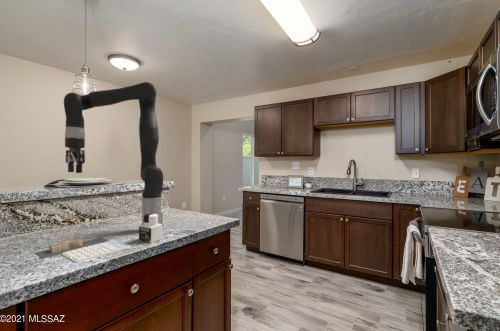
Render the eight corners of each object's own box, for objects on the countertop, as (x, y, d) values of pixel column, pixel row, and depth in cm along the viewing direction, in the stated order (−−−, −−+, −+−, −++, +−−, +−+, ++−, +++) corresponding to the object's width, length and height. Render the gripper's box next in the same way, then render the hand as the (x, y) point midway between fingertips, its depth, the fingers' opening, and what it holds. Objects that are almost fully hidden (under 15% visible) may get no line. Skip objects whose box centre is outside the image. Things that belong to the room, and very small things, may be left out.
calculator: (60, 257, 93) (60, 252, 93) (114, 243, 109) (114, 238, 109) (75, 265, 85) (75, 260, 85) (131, 249, 102) (131, 244, 102)
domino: (82, 241, 102) (52, 247, 94) (82, 246, 102) (52, 253, 94) (78, 238, 104) (48, 245, 96) (78, 243, 104) (48, 250, 96)
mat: (100, 238, 113) (100, 237, 113) (111, 242, 108) (111, 241, 108) (33, 254, 93) (33, 253, 93) (42, 260, 88) (42, 258, 88)
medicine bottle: (138, 241, 110) (138, 214, 110) (150, 237, 117) (150, 211, 117) (150, 243, 107) (151, 216, 107) (162, 239, 114) (162, 213, 114)
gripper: (59, 137, 115) (59, 172, 115) (72, 136, 107) (72, 173, 107) (77, 138, 121) (77, 171, 122) (91, 137, 113) (90, 172, 114)
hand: (74, 172), depth 115 cm, fingers open, 8 cm apart
